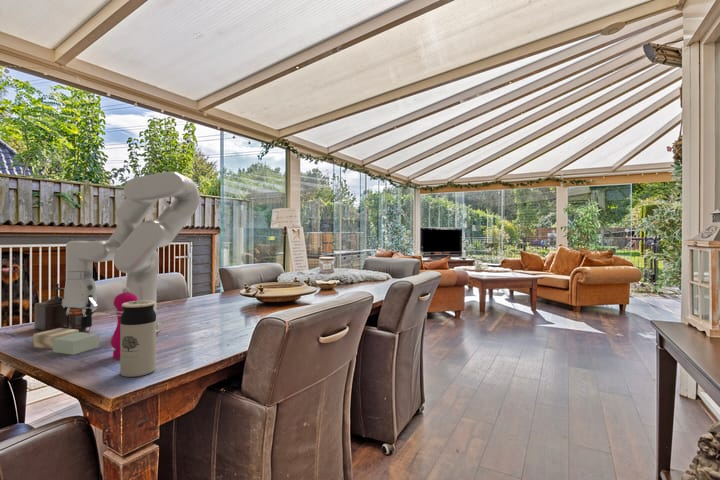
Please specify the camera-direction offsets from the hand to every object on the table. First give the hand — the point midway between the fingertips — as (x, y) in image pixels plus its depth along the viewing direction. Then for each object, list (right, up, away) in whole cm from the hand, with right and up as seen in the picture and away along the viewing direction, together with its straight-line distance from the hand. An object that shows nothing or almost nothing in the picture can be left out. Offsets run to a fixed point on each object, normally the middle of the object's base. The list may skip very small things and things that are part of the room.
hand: (79, 326), depth 133 cm
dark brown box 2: (-13, -2, +10) cm, 16 cm away
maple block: (+3, -3, -13) cm, 14 cm away
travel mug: (+42, -4, -36) cm, 55 cm away
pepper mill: (+31, -4, -23) cm, 39 cm away
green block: (+13, -3, -18) cm, 22 cm away
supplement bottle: (0, -3, 0) cm, 3 cm away
